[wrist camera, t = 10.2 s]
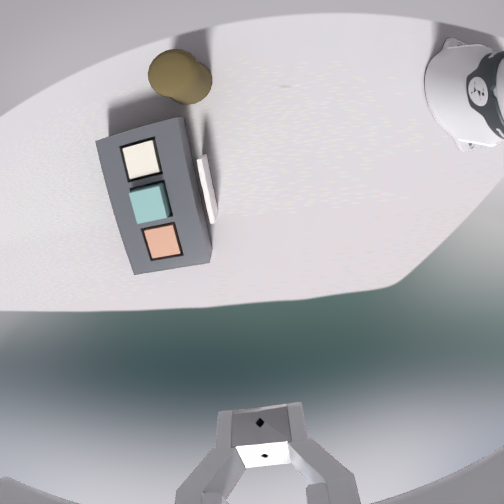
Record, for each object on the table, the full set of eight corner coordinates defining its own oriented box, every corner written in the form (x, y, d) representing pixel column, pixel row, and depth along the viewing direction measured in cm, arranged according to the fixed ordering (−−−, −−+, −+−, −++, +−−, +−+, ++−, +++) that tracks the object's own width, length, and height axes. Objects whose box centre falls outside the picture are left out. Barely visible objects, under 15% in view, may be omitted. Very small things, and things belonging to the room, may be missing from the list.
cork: (157, 78, 34) (129, 67, 24) (196, 52, 33) (180, 30, 23) (181, 113, 36) (160, 112, 26) (221, 87, 35) (213, 76, 25)
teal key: (165, 180, 37) (158, 186, 34) (172, 210, 39) (167, 217, 36) (136, 187, 37) (128, 193, 35) (144, 216, 39) (137, 224, 36)
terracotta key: (177, 217, 41) (172, 225, 38) (184, 244, 42) (180, 253, 40) (150, 223, 41) (143, 230, 38) (157, 249, 43) (152, 258, 40)
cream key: (158, 138, 36) (152, 140, 33) (165, 167, 38) (159, 171, 35) (130, 146, 36) (122, 148, 34) (137, 174, 38) (129, 179, 35)
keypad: (198, 113, 36) (192, 113, 32) (226, 247, 44) (224, 262, 40) (108, 138, 37) (92, 141, 32) (142, 261, 45) (132, 277, 40)
